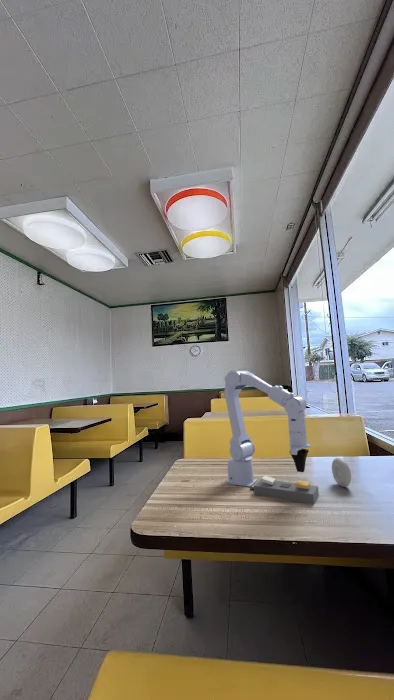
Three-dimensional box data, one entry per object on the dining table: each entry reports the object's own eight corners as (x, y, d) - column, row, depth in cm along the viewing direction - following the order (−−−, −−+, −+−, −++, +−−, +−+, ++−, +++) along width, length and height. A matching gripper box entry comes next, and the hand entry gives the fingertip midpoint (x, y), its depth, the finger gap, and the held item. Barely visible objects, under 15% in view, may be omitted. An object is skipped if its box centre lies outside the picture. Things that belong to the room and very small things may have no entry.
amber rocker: (295, 486, 101) (295, 483, 101) (298, 483, 104) (298, 480, 104) (308, 488, 98) (307, 485, 99) (310, 485, 101) (310, 482, 102)
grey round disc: (354, 490, 104) (351, 461, 105) (345, 491, 104) (342, 461, 105) (340, 481, 114) (337, 454, 115) (331, 481, 114) (328, 454, 115)
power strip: (246, 493, 107) (245, 484, 108) (254, 486, 114) (254, 477, 114) (314, 504, 95) (313, 493, 95) (318, 495, 102) (317, 485, 102)
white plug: (261, 481, 107) (261, 478, 107) (264, 478, 110) (265, 475, 110) (272, 485, 105) (272, 482, 105) (275, 481, 108) (275, 479, 108)
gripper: (304, 435, 97) (308, 479, 96) (313, 428, 109) (317, 466, 108) (282, 434, 101) (285, 476, 99) (294, 427, 113) (297, 464, 112)
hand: (300, 471), depth 104 cm, fingers closed
